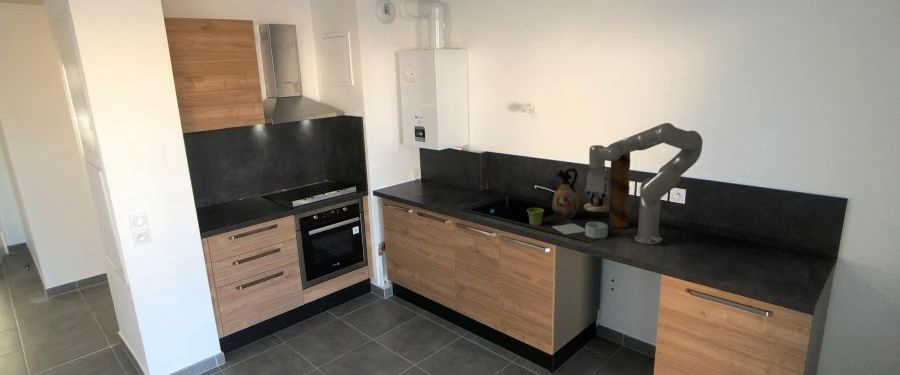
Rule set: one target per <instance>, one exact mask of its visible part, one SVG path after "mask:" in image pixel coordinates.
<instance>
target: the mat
mask: <svg viewBox="0 0 900 375" xmlns="http://www.w3.org/2000/svg"><path fill="white" fill-rule="evenodd" d="M552 228H553V229H555V230H557V231H558V232H560V233H562V234H563V235H570V234H577V233H583V232H584V233H585V228H584V227H582V226H580V225H577V224H576V223H568V224H562V225H561V224H560V225H555V226H554V225H553V226H552Z"/></svg>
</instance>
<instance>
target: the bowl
mask: <svg viewBox="0 0 900 375" xmlns="http://www.w3.org/2000/svg"><path fill="white" fill-rule="evenodd" d="M608 226H609V225H608V224H607V223H606V222H605V223H604V222H601V221H589V222H586V223H585V226H584V227H585V228H584V229H585V231H584V234H585V236H586V237H588V238H592V239H605V238H607V237H608V228H609V227H608Z"/></svg>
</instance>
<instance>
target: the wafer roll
mask: <svg viewBox="0 0 900 375" xmlns="http://www.w3.org/2000/svg"><path fill="white" fill-rule="evenodd" d="M630 168H631V152H629V153H626V154H624V155H621V156H620V158H619V159H618V160H616V161H610V176H609V178H610V179H609V180H610V181H609V182H610V183H609V185H610V189H609V192H610V194H609V203H608V205H609V210H608V211H609V226H610V227H612V228H616V229H625V228H627V227H628V226H629V219H630V216H629V199H630Z"/></svg>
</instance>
